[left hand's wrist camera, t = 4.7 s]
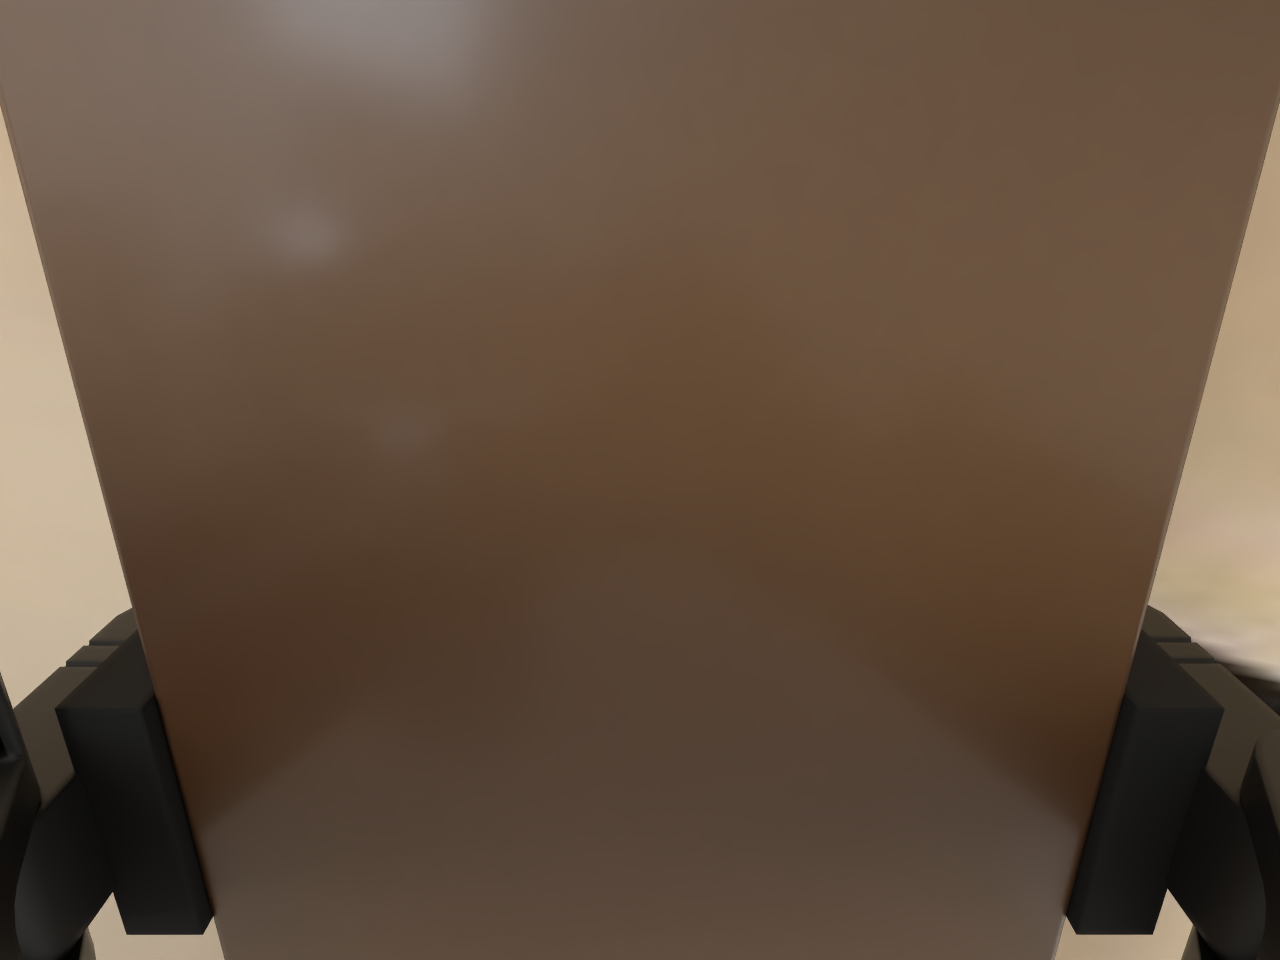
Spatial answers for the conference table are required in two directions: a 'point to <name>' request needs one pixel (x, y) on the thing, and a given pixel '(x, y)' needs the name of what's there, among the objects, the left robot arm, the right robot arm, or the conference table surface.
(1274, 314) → the conference table surface
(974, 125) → the thick board
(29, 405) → the conference table surface
